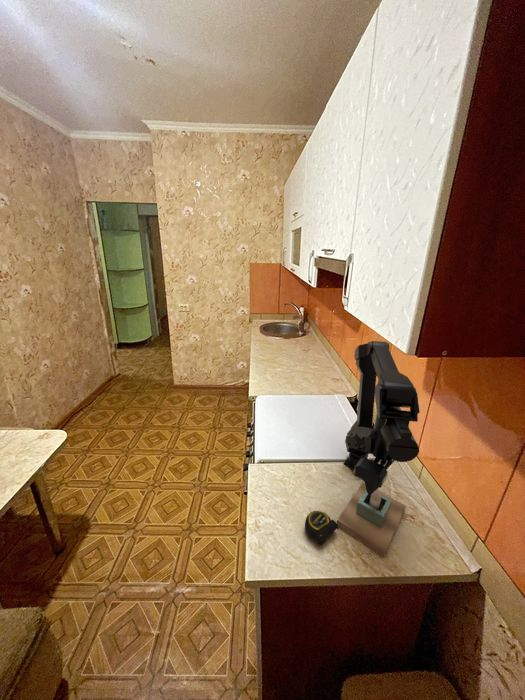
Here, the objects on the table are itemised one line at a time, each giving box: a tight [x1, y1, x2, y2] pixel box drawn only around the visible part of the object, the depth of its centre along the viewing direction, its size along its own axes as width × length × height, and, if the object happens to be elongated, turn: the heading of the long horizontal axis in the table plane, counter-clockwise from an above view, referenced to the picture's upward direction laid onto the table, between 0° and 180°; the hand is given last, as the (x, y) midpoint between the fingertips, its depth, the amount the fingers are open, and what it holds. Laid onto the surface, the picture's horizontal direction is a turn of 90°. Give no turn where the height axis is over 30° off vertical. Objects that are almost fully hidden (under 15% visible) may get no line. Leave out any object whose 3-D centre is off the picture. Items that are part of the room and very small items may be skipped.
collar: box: [356, 490, 392, 529], centre depth 76 cm, size 6×6×4 cm
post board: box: [336, 481, 407, 558], centre depth 76 cm, size 16×12×9 cm
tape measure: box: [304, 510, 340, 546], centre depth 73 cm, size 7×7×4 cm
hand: (376, 481), depth 73 cm, fingers open, 9 cm apart
